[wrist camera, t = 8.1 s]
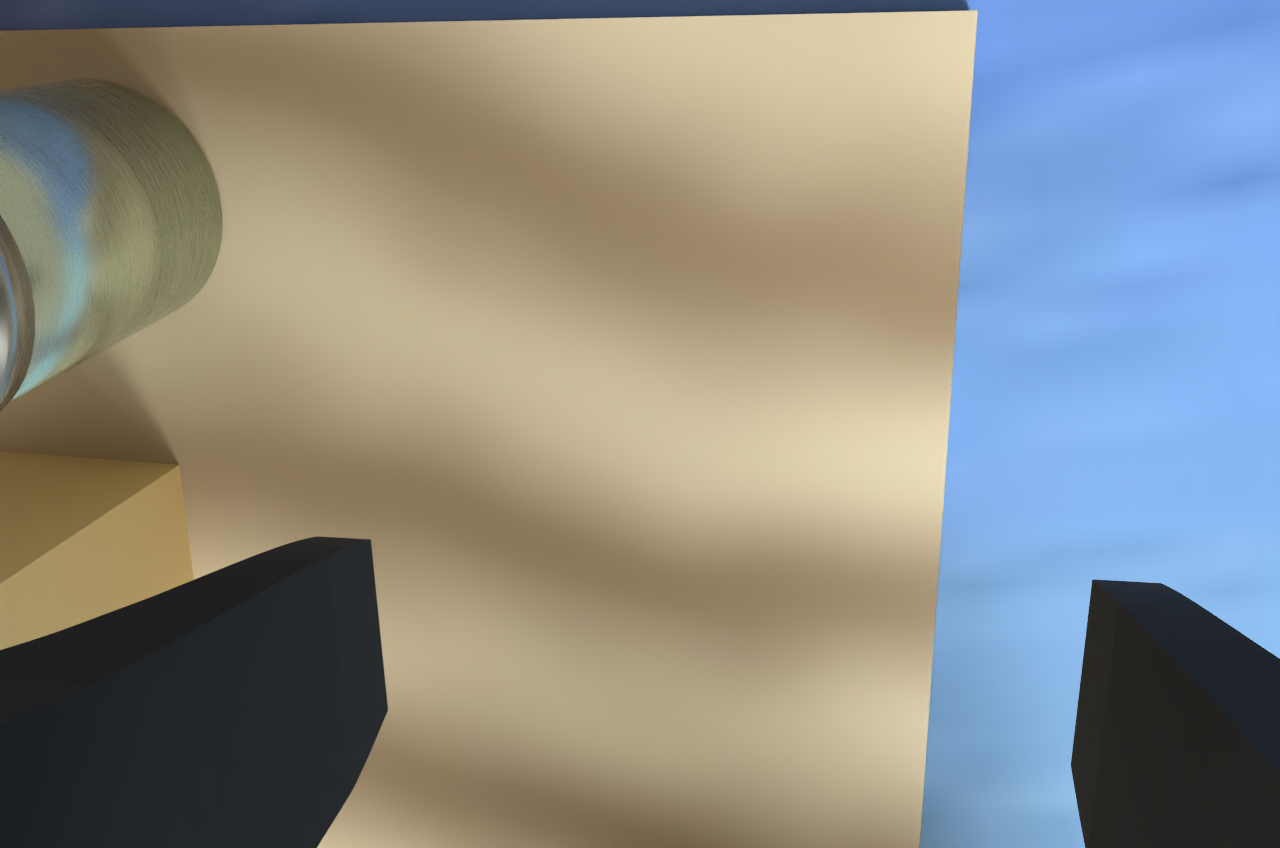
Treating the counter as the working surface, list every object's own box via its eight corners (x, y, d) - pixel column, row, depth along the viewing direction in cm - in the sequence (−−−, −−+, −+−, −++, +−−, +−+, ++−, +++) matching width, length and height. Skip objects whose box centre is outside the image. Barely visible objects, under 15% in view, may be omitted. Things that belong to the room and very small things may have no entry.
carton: (212, 730, 25) (26, 938, 19) (38, 710, 25) (-191, 905, 20) (179, 464, 23) (-39, 609, 17) (-9, 450, 24) (-278, 585, 18)
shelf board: (908, 916, 25) (917, 1056, 21) (-27, 819, 28) (-144, 927, 25) (970, 11, 19) (995, 9, 16) (-215, 35, 23) (-400, 38, 19)
